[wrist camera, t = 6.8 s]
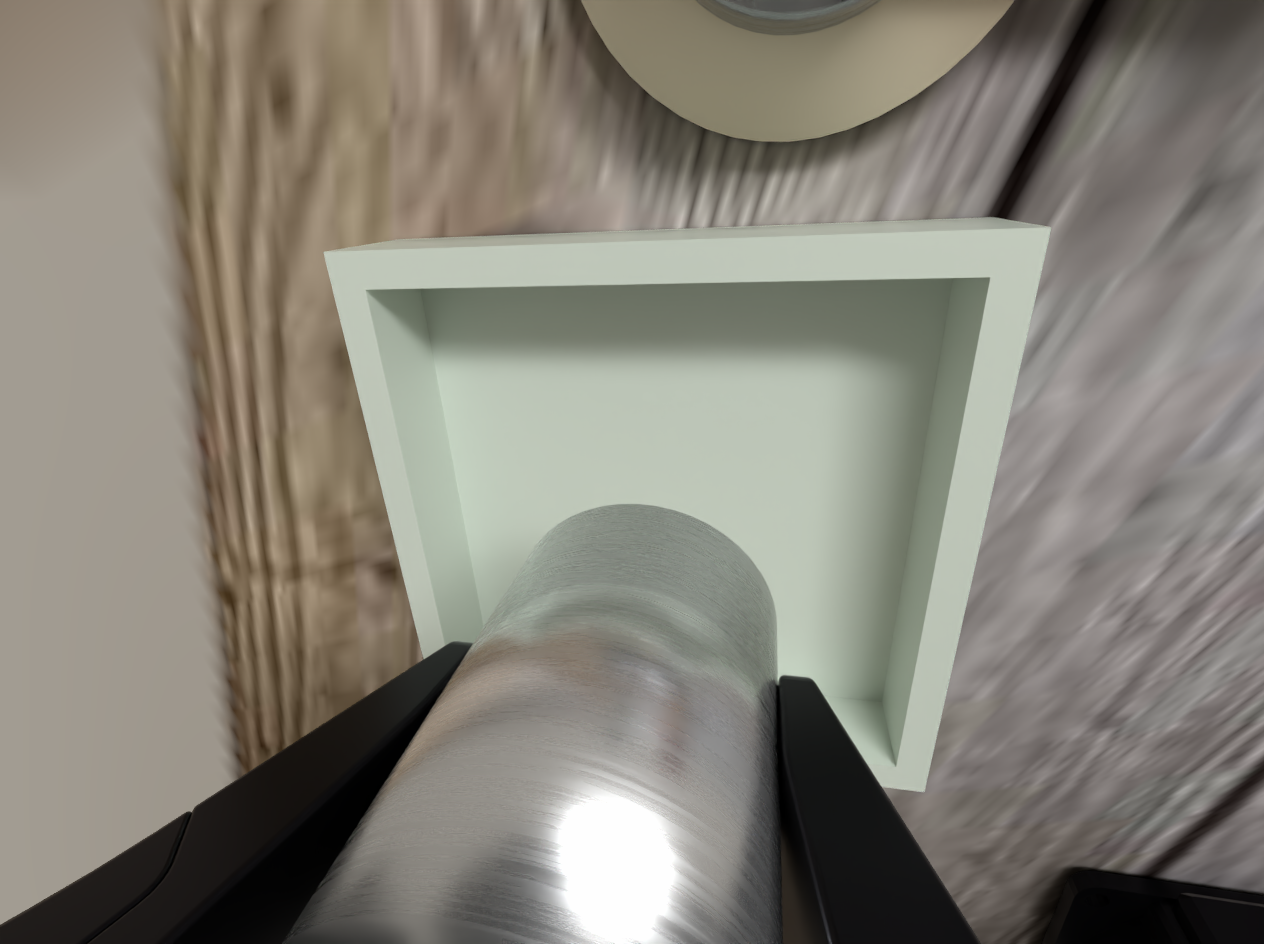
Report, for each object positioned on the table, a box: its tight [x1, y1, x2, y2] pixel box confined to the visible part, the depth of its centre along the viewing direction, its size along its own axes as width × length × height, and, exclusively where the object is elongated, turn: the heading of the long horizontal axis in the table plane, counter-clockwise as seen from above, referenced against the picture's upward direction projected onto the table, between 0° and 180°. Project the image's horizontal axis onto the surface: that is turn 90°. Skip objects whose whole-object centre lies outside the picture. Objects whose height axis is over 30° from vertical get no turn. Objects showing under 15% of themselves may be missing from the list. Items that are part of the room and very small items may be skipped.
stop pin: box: [282, 504, 783, 944], centre depth 7 cm, size 4×4×6 cm
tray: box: [324, 217, 1051, 792], centre depth 12 cm, size 10×10×2 cm
